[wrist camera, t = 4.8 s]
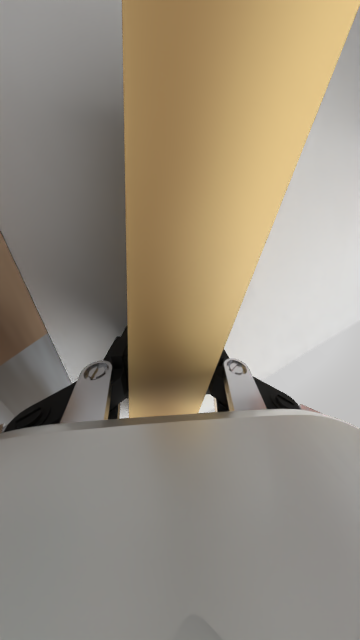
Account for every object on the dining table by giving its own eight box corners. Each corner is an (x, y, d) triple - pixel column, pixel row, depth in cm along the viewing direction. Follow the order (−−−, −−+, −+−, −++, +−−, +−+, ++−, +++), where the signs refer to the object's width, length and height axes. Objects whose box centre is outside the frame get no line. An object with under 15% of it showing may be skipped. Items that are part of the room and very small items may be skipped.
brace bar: (236, 150, 6) (388, -68, 2) (173, 408, 16) (176, 467, 12) (154, 122, 6) (116, -283, 1) (140, 409, 16) (130, 471, 11)
